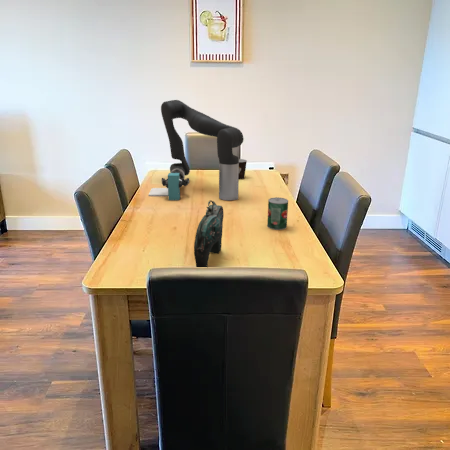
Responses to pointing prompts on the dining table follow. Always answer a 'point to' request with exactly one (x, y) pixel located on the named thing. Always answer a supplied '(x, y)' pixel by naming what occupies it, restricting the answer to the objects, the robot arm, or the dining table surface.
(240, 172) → the coffee mug
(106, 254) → the dining table surface
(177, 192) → the teal block
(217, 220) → the dark green power tool
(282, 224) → the canned tomato
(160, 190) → the white board
